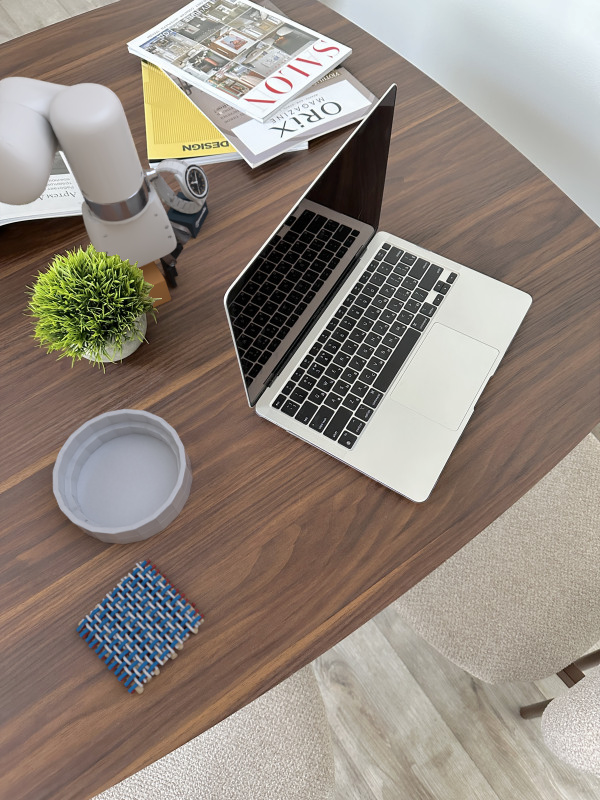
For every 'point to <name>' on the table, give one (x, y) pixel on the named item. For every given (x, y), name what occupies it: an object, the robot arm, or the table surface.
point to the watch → (184, 193)
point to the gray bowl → (122, 476)
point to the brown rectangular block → (156, 283)
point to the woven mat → (140, 625)
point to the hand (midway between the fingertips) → (152, 287)
